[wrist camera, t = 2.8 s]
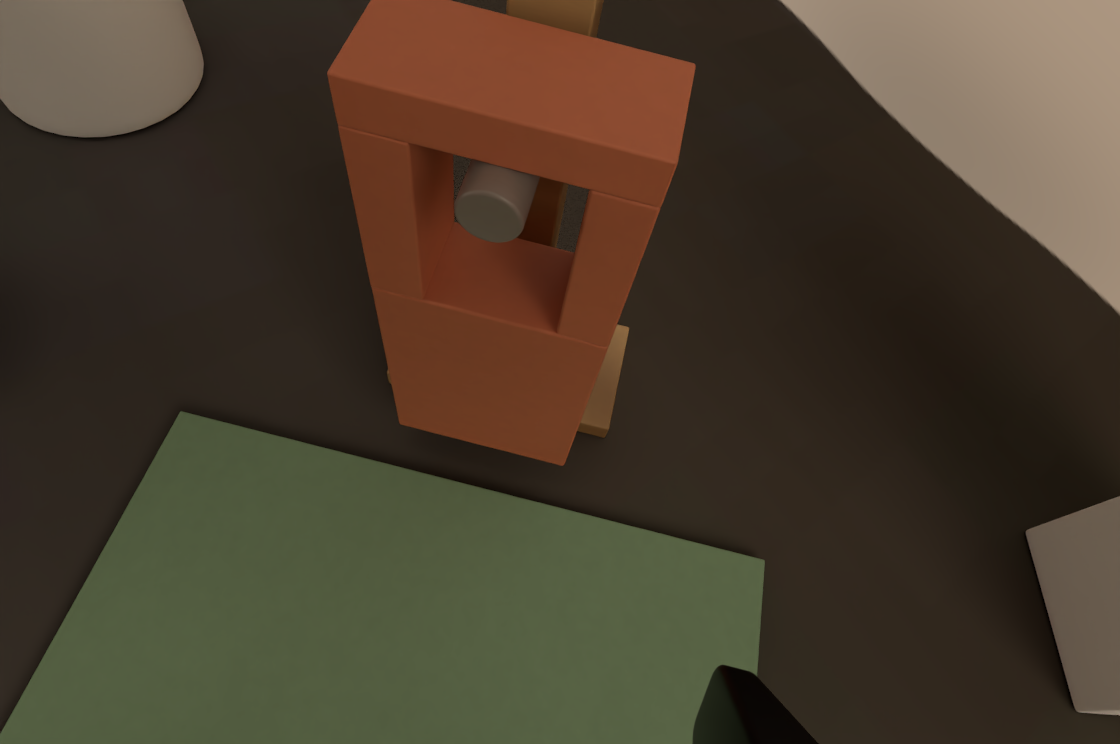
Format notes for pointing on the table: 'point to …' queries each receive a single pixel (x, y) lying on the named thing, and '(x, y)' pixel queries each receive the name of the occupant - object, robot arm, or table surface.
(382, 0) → the orange window block
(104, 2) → the bottle
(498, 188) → the hook stand
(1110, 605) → the milk
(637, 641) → the mat
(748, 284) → the table surface
